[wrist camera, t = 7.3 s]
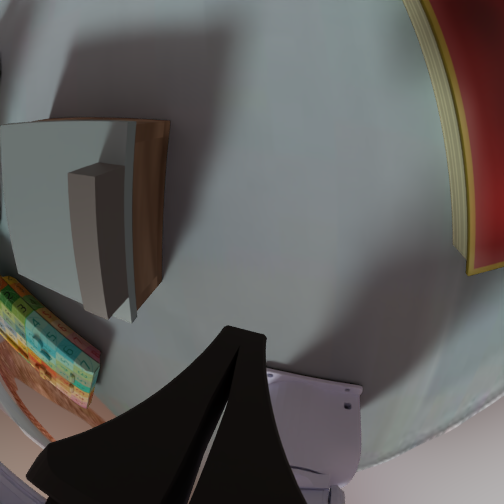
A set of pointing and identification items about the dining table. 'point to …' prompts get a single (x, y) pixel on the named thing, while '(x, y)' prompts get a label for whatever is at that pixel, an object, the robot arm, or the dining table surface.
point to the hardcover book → (469, 116)
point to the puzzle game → (48, 342)
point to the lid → (73, 209)
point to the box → (146, 201)
